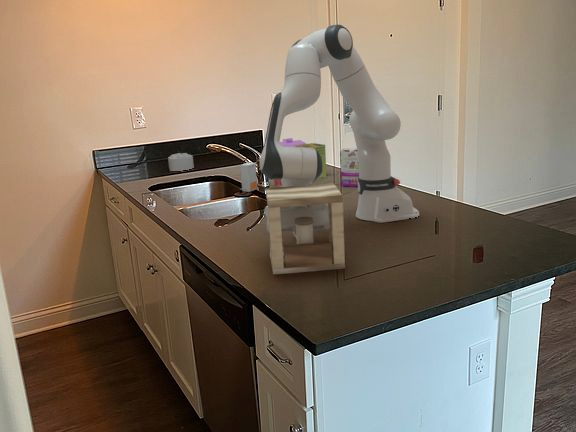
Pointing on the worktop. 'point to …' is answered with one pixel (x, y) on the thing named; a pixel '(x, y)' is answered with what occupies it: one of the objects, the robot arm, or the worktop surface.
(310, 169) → the robot arm
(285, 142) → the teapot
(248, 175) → the skincare box
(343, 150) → the candy bar box
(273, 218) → the shelf
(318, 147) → the protein box
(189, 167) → the lumpy-topped squat cylinder
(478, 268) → the worktop surface
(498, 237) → the worktop surface
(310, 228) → the jar
